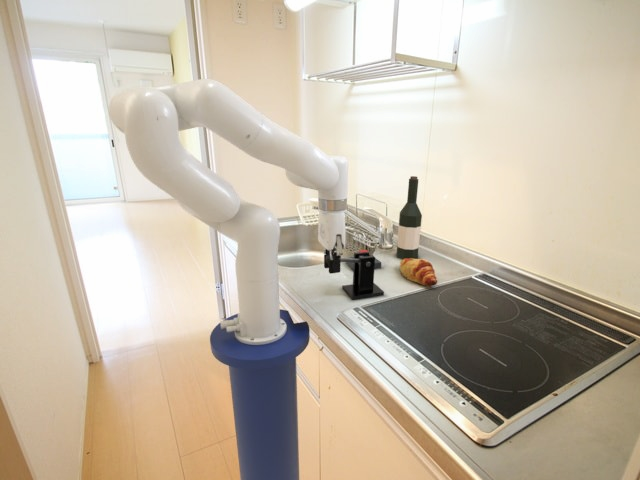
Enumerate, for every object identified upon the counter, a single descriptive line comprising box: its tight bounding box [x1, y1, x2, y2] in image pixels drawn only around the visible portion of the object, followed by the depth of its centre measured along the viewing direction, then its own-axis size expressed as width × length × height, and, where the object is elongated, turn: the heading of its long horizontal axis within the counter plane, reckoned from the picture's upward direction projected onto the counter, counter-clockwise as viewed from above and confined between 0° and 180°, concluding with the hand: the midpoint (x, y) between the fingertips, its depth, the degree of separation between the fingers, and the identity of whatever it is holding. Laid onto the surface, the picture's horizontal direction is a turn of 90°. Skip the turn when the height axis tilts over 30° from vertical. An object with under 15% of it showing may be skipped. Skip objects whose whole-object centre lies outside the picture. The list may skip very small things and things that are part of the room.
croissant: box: [399, 258, 438, 287], centre depth 118 cm, size 21×10×8 cm, turn 21°
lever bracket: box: [341, 251, 385, 301], centre depth 105 cm, size 10×8×12 cm
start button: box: [358, 249, 370, 253], centre depth 126 cm, size 4×4×2 cm
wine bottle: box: [396, 175, 423, 260], centre depth 133 cm, size 8×8×30 cm
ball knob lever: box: [326, 254, 368, 264], centre depth 102 cm, size 13×3×3 cm, turn 112°
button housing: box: [345, 252, 382, 271], centre depth 127 cm, size 10×8×4 cm
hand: (332, 269), depth 101 cm, fingers closed on ball knob lever, 3 cm apart
